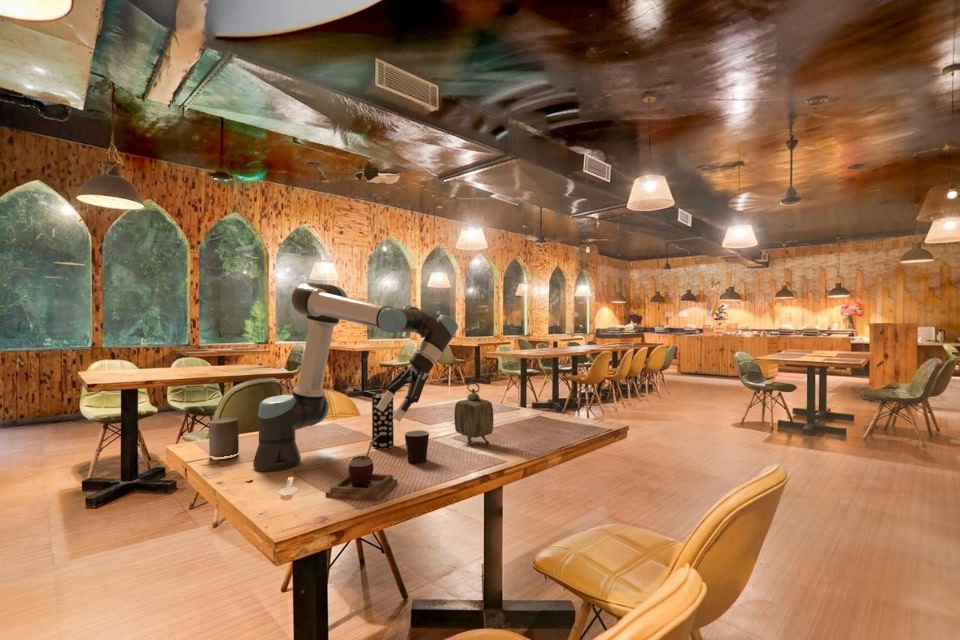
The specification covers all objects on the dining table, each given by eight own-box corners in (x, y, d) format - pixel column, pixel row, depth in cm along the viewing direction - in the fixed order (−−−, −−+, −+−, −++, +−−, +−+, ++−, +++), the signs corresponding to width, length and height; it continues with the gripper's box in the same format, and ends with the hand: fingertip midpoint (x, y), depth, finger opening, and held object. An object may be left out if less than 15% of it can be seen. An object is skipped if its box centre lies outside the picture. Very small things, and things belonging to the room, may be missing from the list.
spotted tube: (397, 445, 185) (397, 395, 185) (383, 450, 178) (382, 398, 178) (382, 442, 189) (382, 394, 190) (367, 447, 182) (367, 396, 183)
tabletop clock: (493, 445, 184) (493, 382, 185) (477, 449, 178) (477, 384, 178) (469, 438, 195) (468, 379, 195) (452, 442, 188) (452, 381, 189)
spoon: (299, 476, 149) (299, 474, 149) (297, 495, 132) (297, 493, 132) (281, 478, 147) (282, 476, 147) (277, 498, 130) (277, 496, 130)
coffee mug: (424, 465, 158) (424, 436, 158) (401, 464, 159) (400, 435, 160) (434, 456, 169) (434, 429, 169) (412, 455, 171) (412, 428, 171)
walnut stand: (325, 496, 130) (325, 487, 130) (348, 480, 143) (348, 472, 143) (379, 500, 127) (379, 490, 127) (397, 483, 141) (397, 474, 141)
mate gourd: (344, 486, 135) (343, 434, 135) (366, 479, 141) (366, 430, 141) (358, 492, 130) (358, 438, 130) (381, 484, 136) (381, 433, 136)
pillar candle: (244, 453, 175) (244, 414, 175) (227, 461, 165) (227, 419, 165) (220, 453, 176) (220, 414, 176) (202, 460, 166) (202, 419, 166)
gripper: (451, 369, 141) (412, 430, 135) (416, 359, 161) (381, 411, 155) (434, 356, 137) (393, 417, 131) (401, 347, 158) (364, 400, 152)
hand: (387, 414), depth 143 cm, fingers open, 13 cm apart
